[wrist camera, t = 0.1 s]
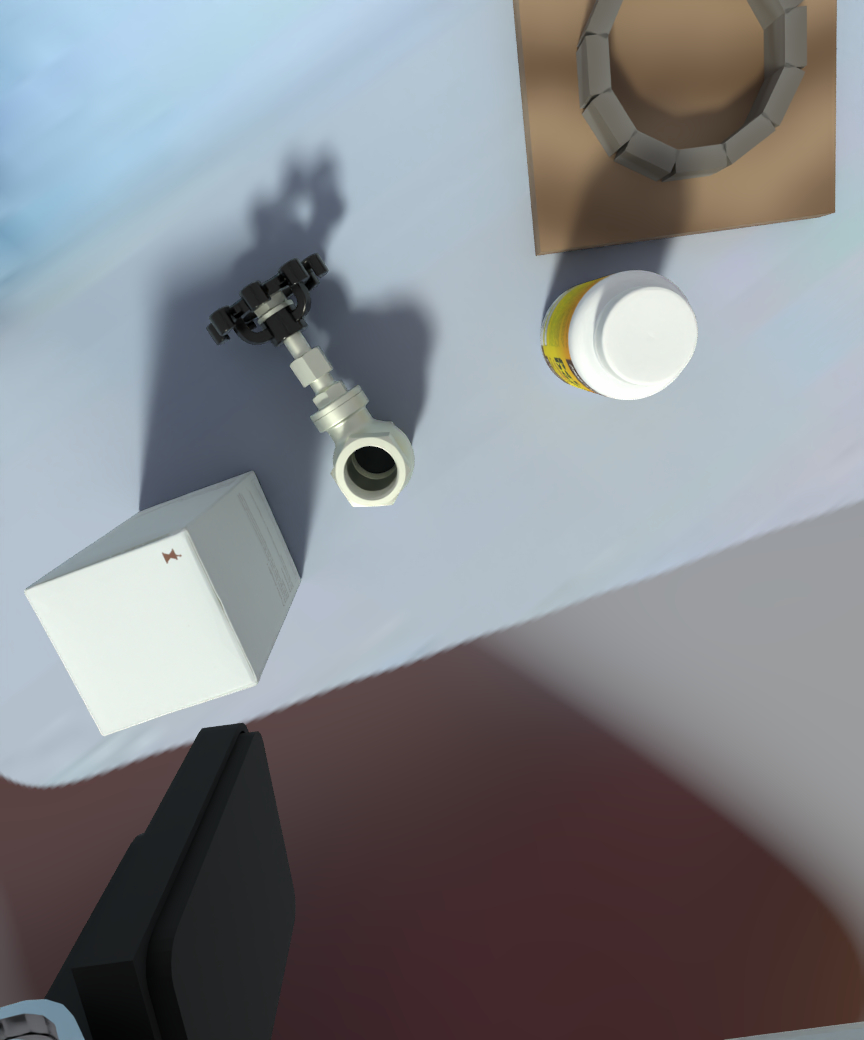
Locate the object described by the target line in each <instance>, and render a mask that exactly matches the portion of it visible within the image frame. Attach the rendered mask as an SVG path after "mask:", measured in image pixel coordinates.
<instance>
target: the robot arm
mask: <svg viewBox="0 0 864 1040" xmlns="http://www.w3.org/2000/svg"><path fill="white" fill-rule="evenodd" d="M294 921H295V894H294V888H293V883H292V878H291V874H290V868H289V864H288V859H287V854H286V849H285V844H284V840H283V835H282V830H281V826H280V821H279V816H278V811H277V806H276V801H275V796H274V791H273V787H272V782H271V777H270V773H269V768H268V763H267V758H266V753H265V748H264V743H263V740H262V737H261V734H260V733H259V732H250V733H249V732H248V729H247V727H246V725H245V724H244V723H238V724H231V725H223V726H216V727H208V728H202V729H201V731H200V732H199V734H198V735H197V737H196V739H195V741H194V743H193V745H192V746H191V748H190V750H189V752H188V754H187V756H186V757H185V760H184V761H183V763H182V765H181V767H180V769H179V770H178V772H177V774H176V776H175V778H174V780H173V781H172V783H171V785H170V787H169V789H168V791H167V792H166V794H165V796H164V798H163V800H162V802H161V803H160V805H159V807H158V809H157V811H156V813H155V815H154V816H153V818H152V820H151V822H150V824H149V826H148V827H147V829H146V831H145V833H142V834H140V835H138V836H137V837H136V838H135V839H134V840H133V842H132V843H131V845H130V846H129V848H128V850H127V852H126V854H125V855H124V857H123V859H122V860H121V862H120V864H119V866H118V868H117V869H116V871H115V873H114V875H113V877H112V879H111V880H110V882H109V884H108V886H107V887H106V889H105V891H104V893H103V895H102V896H101V898H100V900H99V902H98V903H97V905H96V907H95V909H94V911H93V913H92V914H91V916H90V918H89V920H88V921H87V923H86V925H85V927H84V928H83V930H82V932H81V934H80V936H79V937H78V939H77V941H76V943H75V945H74V946H73V948H72V950H71V952H70V954H69V955H68V957H67V959H66V961H65V963H64V964H63V966H62V968H61V970H60V972H59V973H58V975H57V977H56V979H55V980H54V982H53V984H52V986H51V988H50V989H49V991H48V993H47V995H46V996H45V998H44V999H43V1000H24V1001H21V1002H18V1003H15V1004H11V1005H8V1006H5V1007H1V1008H0V1040H271V1036H272V1031H273V1026H274V1021H275V1016H276V1011H277V1006H278V1001H279V996H280V991H281V986H282V981H283V976H284V971H285V966H286V961H287V956H288V951H289V946H290V941H291V936H292V931H293V926H294ZM727 1040H864V1022H858V1023H851V1024H843V1025H834V1026H827V1027H820V1028H811V1029H804V1030H796V1031H788V1032H781V1033H773V1034H766V1035H758V1036H750V1037H743V1038H735V1039H727Z"/></svg>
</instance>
